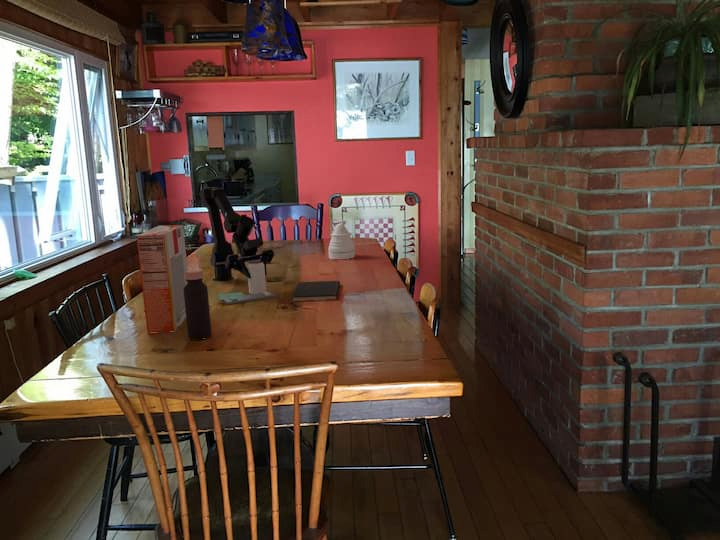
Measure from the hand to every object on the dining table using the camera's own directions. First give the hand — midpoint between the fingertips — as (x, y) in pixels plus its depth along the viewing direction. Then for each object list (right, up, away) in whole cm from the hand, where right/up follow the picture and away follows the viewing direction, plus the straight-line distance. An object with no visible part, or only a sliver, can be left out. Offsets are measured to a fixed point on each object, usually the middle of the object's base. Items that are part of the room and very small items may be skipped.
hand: (258, 276), depth 226 cm
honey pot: (+30, +8, +68) cm, 75 cm away
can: (0, -6, +3) cm, 7 cm away
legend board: (-2, -8, -6) cm, 10 cm away
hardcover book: (+22, -7, 0) cm, 23 cm away
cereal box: (-23, -15, -32) cm, 42 cm away
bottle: (-9, -18, -49) cm, 52 cm away
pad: (-10, -8, -2) cm, 12 cm away
